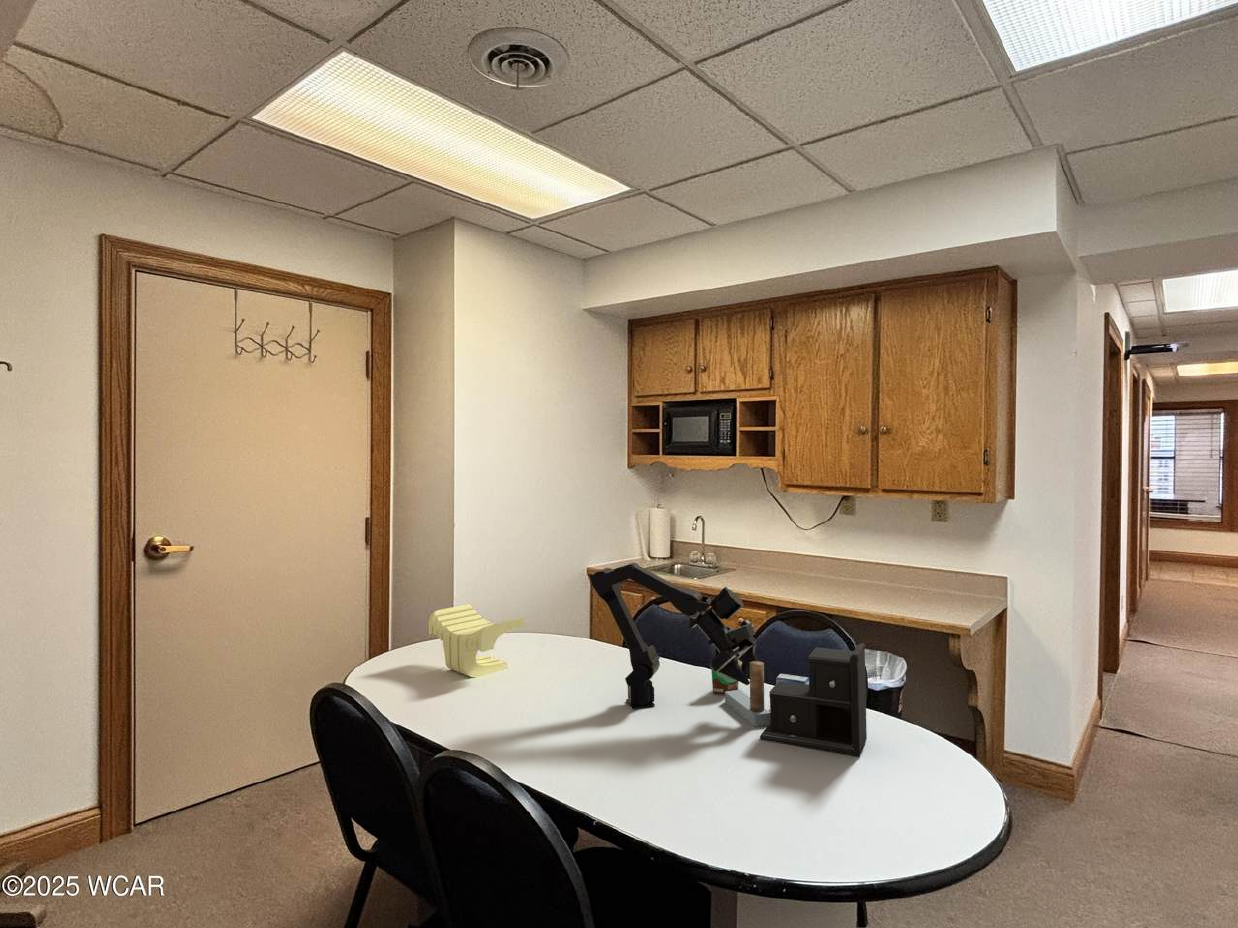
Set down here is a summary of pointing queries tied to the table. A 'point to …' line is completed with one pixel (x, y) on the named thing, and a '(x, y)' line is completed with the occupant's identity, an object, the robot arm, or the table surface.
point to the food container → (723, 682)
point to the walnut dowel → (757, 686)
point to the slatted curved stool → (469, 639)
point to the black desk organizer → (823, 704)
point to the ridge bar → (746, 708)
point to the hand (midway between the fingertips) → (755, 678)
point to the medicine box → (792, 679)
